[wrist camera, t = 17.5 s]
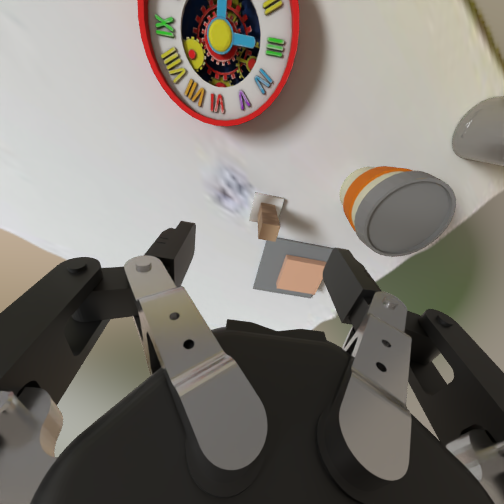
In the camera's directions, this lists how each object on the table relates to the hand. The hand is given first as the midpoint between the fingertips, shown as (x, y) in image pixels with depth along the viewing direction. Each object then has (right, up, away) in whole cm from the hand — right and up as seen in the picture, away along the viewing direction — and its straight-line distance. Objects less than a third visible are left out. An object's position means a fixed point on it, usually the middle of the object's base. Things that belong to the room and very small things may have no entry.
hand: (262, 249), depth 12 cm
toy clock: (-5, +30, +19) cm, 37 cm away
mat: (+9, -4, +41) cm, 42 cm away
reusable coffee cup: (+22, +12, +30) cm, 39 cm away
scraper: (+2, +9, +33) cm, 34 cm away
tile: (+11, -6, +40) cm, 42 cm away
